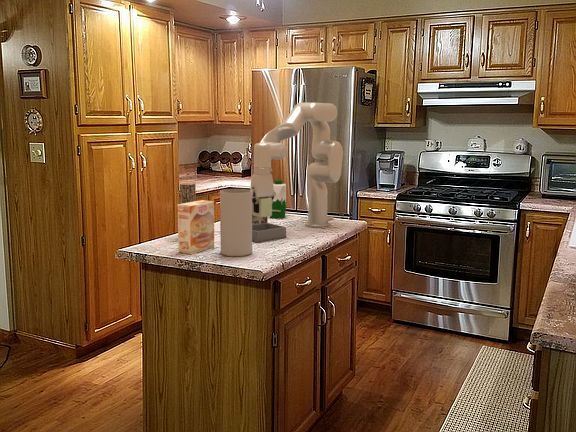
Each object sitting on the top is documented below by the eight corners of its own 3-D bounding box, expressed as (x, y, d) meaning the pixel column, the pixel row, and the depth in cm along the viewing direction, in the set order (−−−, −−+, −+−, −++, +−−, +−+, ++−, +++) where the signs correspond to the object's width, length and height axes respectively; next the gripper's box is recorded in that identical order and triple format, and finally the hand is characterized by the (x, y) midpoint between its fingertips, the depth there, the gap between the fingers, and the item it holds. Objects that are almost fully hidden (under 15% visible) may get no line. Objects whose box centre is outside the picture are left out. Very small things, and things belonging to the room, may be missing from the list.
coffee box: (263, 229, 275) (263, 196, 272) (250, 229, 276) (250, 196, 273) (268, 226, 284) (268, 194, 281) (255, 225, 285) (255, 193, 282)
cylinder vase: (216, 251, 230) (215, 189, 226) (245, 248, 235) (245, 188, 231) (226, 258, 219) (225, 193, 215) (256, 255, 224) (256, 192, 220)
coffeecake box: (191, 254, 224) (190, 205, 221) (177, 252, 228) (176, 204, 225) (215, 247, 237) (214, 201, 233) (202, 245, 241) (201, 199, 237)
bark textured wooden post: (199, 237, 255) (198, 182, 251) (190, 240, 249) (189, 183, 245) (186, 236, 258) (185, 181, 254) (177, 239, 252) (176, 182, 248)
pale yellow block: (263, 214, 258) (263, 196, 257) (271, 215, 254) (271, 198, 252) (252, 215, 254) (252, 197, 253) (261, 217, 250) (261, 199, 248)
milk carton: (286, 216, 311) (287, 179, 308) (284, 219, 303) (284, 181, 299) (271, 215, 313) (271, 179, 309) (267, 218, 304) (267, 181, 301)
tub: (267, 233, 266) (267, 222, 265) (286, 237, 256) (286, 227, 255) (238, 237, 255) (238, 226, 255) (257, 243, 246) (257, 231, 245)
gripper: (272, 169, 259) (271, 209, 262) (241, 171, 248) (241, 212, 251) (282, 171, 253) (282, 211, 256) (252, 173, 242) (251, 214, 245)
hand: (262, 211), depth 254 cm, fingers closed on pale yellow block, 6 cm apart
